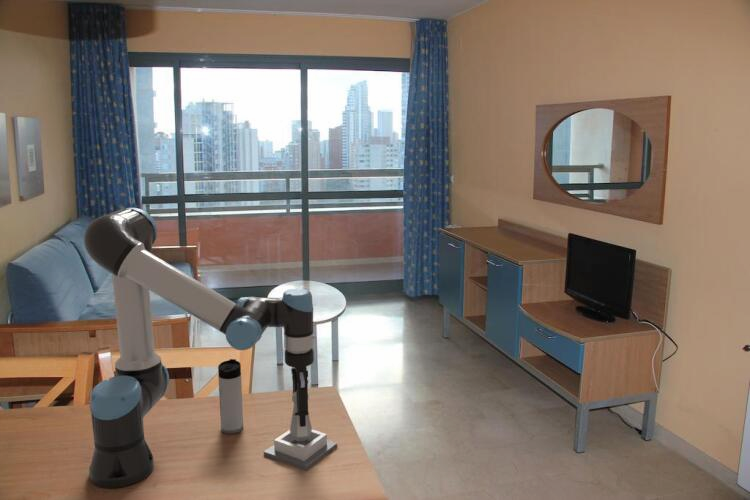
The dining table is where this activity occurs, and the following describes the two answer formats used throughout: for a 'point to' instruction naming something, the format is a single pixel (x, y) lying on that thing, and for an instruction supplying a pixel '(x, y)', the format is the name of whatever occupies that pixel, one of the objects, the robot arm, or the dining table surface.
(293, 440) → the socket
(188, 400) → the dining table surface
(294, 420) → the grey bulb peg
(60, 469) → the dining table surface
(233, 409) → the travel mug
